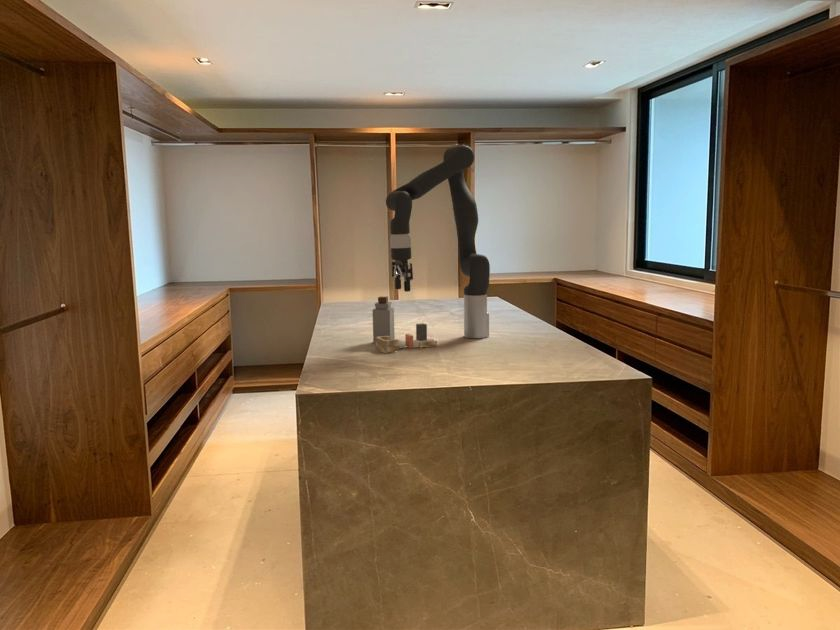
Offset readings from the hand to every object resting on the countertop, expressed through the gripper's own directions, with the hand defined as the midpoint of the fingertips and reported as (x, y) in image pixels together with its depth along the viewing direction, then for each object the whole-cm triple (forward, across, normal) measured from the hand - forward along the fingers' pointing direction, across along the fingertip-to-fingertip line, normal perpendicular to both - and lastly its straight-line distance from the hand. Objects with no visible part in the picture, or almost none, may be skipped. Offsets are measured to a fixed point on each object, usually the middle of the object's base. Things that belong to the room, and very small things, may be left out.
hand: (402, 290), depth 240 cm
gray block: (+22, -2, -6) cm, 22 cm away
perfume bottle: (+22, +10, +4) cm, 24 cm away
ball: (+20, -2, +3) cm, 20 cm away
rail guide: (+22, -2, -7) cm, 23 cm away
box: (+21, -3, +8) cm, 23 cm away
